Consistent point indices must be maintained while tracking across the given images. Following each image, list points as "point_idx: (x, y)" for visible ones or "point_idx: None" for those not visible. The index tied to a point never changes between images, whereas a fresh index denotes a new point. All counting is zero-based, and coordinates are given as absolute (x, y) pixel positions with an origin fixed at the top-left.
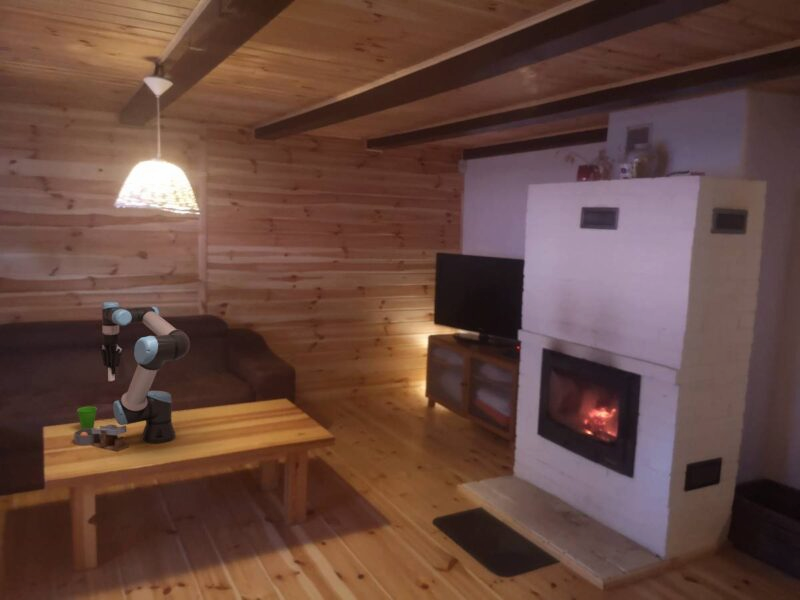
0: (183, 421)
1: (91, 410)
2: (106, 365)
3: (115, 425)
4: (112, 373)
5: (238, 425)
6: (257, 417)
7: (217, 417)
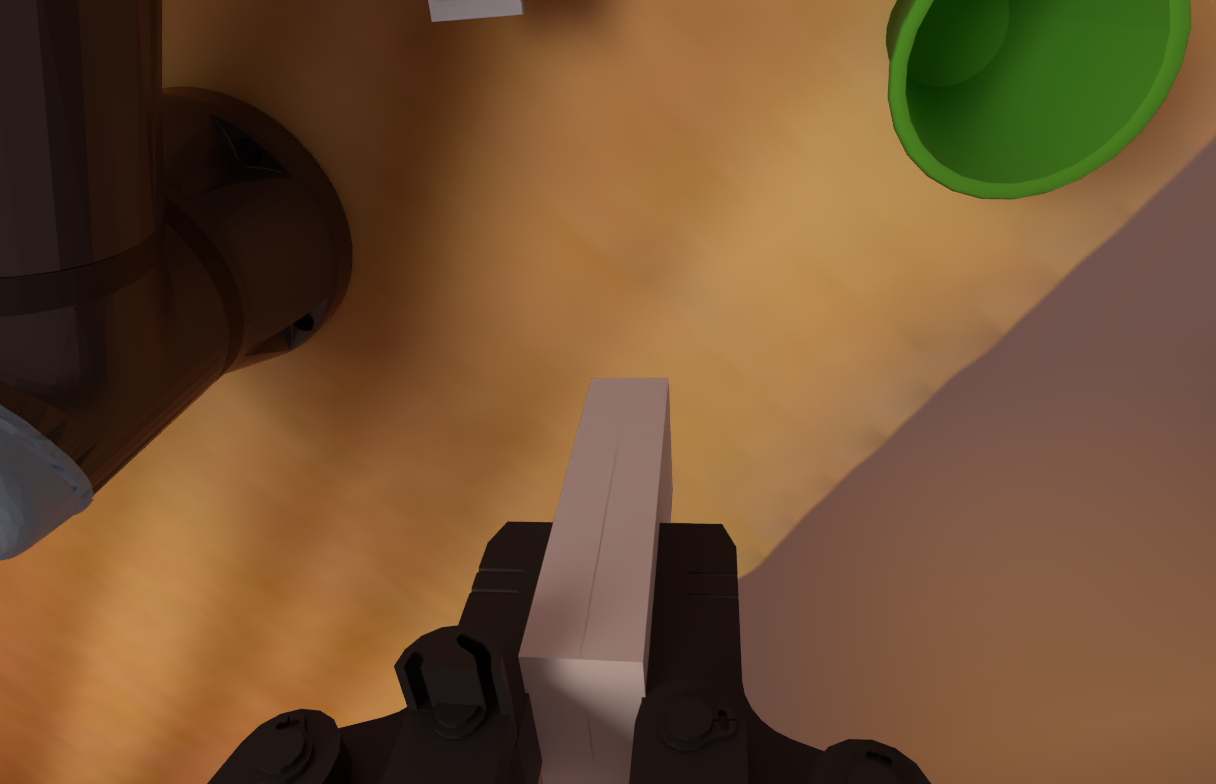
0: (434, 562)
1: (1028, 159)
2: (749, 761)
3: (430, 7)
4: (520, 542)
5: (130, 628)
6: (191, 743)
7: (344, 681)
